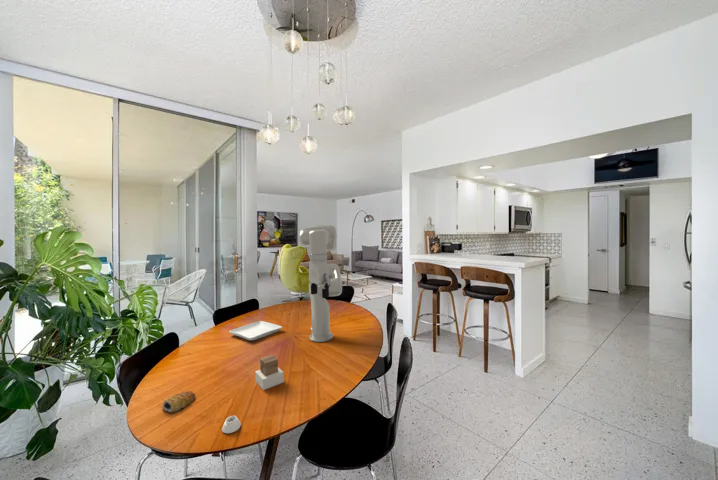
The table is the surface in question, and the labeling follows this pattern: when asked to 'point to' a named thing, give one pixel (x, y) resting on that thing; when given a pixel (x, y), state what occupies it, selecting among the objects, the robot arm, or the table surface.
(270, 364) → the cube
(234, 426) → the white jar
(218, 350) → the table surface
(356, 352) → the table surface
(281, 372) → the base
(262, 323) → the salad plate
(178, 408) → the pastry
